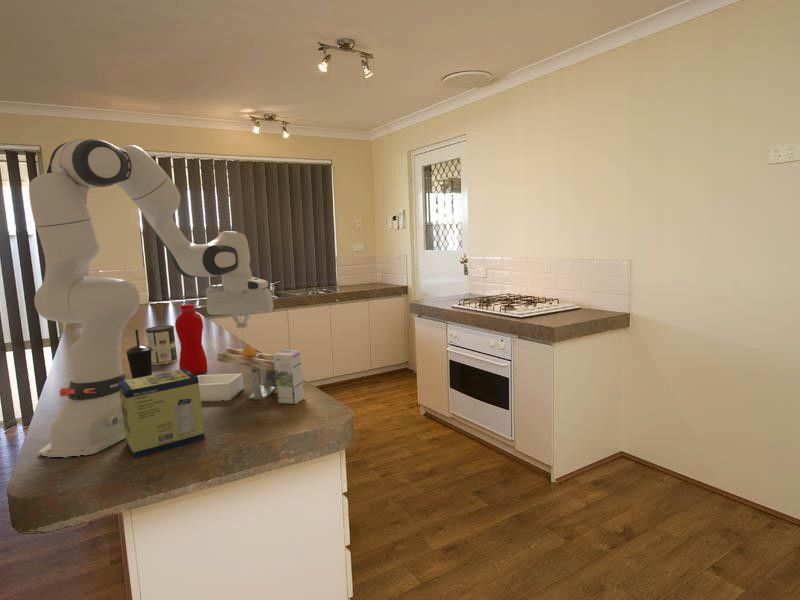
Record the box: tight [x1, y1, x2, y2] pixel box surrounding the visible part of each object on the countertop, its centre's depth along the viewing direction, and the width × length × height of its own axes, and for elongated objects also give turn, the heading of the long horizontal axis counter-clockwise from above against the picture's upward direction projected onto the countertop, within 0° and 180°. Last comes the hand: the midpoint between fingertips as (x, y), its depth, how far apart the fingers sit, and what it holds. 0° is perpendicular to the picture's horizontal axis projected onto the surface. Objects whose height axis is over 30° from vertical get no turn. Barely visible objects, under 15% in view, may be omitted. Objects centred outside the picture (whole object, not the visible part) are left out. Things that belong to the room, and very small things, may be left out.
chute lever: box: [216, 347, 276, 387], centre depth 154 cm, size 20×14×8 cm
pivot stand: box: [248, 366, 277, 400], centre depth 151 cm, size 12×5×10 cm, turn 177°
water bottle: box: [174, 303, 210, 375], centre depth 180 cm, size 9×11×25 cm
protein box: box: [118, 369, 206, 459], centre depth 116 cm, size 10×16×16 cm
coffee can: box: [145, 324, 179, 366], centre depth 200 cm, size 10×10×14 cm
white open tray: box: [196, 373, 245, 402], centre depth 152 cm, size 11×14×5 cm
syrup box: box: [273, 349, 305, 405], centre depth 141 cm, size 6×6×14 cm
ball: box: [242, 345, 257, 357], centre depth 150 cm, size 4×4×4 cm
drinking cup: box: [125, 329, 153, 379], centre depth 160 cm, size 8×8×20 cm
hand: (242, 327), depth 156 cm, fingers closed
